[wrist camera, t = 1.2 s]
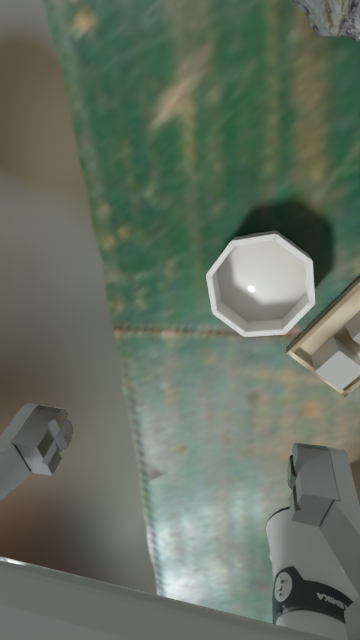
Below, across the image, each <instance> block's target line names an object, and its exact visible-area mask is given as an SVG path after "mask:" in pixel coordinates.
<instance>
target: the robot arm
mask: <svg viewBox="0 0 360 640" xmlns="http://www.w3.org/2000/svg"><path fill="white" fill-rule="evenodd" d="M67 416H68V413H67V411H66V409H60V408H54V407H48V406H41V405H36V404H28V403H27V404H25V405H24V406H23V407H22V408H21V409H20V411H19V412H18V413H17V415H16V416H15V417H14V419H13V420H12V421H11V423H10V424H9V425H8V427H7V428H6V430H5V431H4V432H3V434H2V435H1V437H0V501H1V500H2V499H3V498H4V497H5V496H6V495H7V494H9V493H10V492H11V491H12V490H13V489H14V488H16V487H17V486H18V485H19V484H20V483H21V482H23V481H24V480H25V479H26V478H27V477H28V476H29V475H30V474H31V472H33V473H39V474H45V475H51V476H53V474H54V472H55V470H56V468H57V466H58V464H59V463H60V460H61V458H62V457H61V452H62V451H63V450H64V449H66V448H67V447H68V445H69V443H70V441H71V439H72V435H73V425H72V423H71V422H70V421H69V420H68V419H67ZM292 452H293V455H291V456H290V457H289V461H288V470H287V471H288V485H289V487H290V488H291V489H292V492H291V495H290V498H289V502H290V509H287V510H283V511H281V512H278V513H277V514H275V515H274V516H273V517H272V518H271V519H270V520H269V521H268V523H267V527H266V533H267V537H268V542H269V547H270V559H271V561H272V570H273V579H274V588H273V596H272V611H273V612H272V618H273V624H272V623H268V622H264V621H260V620H256V619H251V618H247V617H243V616H239V615H235V614H231V613H227V612H223V611H219V610H215V609H211V608H207V607H203V606H199V605H195V604H191V603H187V602H183V601H179V600H175V599H171V598H167V597H163V596H158V595H154V594H150V593H146V592H142V591H138V590H134V589H130V588H126V587H122V586H118V585H113V584H110V583H106V582H102V581H98V580H94V579H89V578H86V577H81V576H78V575H73V574H70V573H65V572H61V571H57V570H53V569H49V568H45V567H41V566H37V565H33V564H29V563H25V562H21V561H17V560H13V559H9V558H5V557H0V640H360V503H359V499H358V495H357V491H356V488H355V483H354V480H353V476H352V472H351V468H350V463H349V459H348V456H347V453H346V451H345V450H343V449H337V448H330V447H325V446H317V445H310V444H302V443H294V444H293V447H292Z"/></svg>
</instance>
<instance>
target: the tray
mask: <svg viewBox="0 0 360 640" xmlns="http://www.w3.org/2000/svg"><path fill="white" fill-rule="evenodd" d="M359 311H360V277H358V278H357V279H356V280H355V281H354V282H353V283H352V284H351V285H350V286H349V287H348V288H347V289H346V290H345V291H344V292H343V293H342V294H341V295H340V296H339V297H338V298H336V299H335V300H334V301H333V302H332V303H331V304H330V305H329V306H328V307H327V308H326V309H325V310H324V311H323V312H322V313H321V314H320V315H319V316H318V317H317V318H316V319H315V320H314V321H313V322H312V323H311V324H310V325H309V326H308V327H307V328H306V329H305V330H304V331H303V332H302V333H301V334H300V335H299V336H298V337H297V338H296V339H295V340H294V341H293V342H292V343H291V344H290V345H289V346H288V347H287V348H286V352H287V354H288V355H290V356H291V357H292V358H294V359H295V360H296V361H298V362H299V363H300V364H302V365H303V366H304V367H306V368H307V369H308V370H310V371H311V372H312V373H314V374H315V375H317V376H318V377H319V378H321V379H322V380H323V381H325V382H326V383H327V384H329V385H330V386H331V387H333V388H334V389H335V390H337V391H338V392H339V393H341V394H342V395H343V396H347V395H348V394H349V393H351V392H352V391H353V390H354V389H356V388H357V387H358V386H359V385H360V376H358V377H357V378H356V379H355V380H353V381H352V382H351V383H350V384H348V385H347V386H346V387H345V388H343V389H342V390H341V391H340V390H339V389H337V388H336V387H335V386H333V385H332V384H330V383H329V382H328V381H326V380H325V379H324V378H322V377H321V376H320V375H318V374H317V373H316V372H315V370H314V366H313V361H312V357H311V355H313V354H314V353H315V352H316V351H317V350H318V349H319V348H320V347H321V346H322V345H323V344H324V343H326V342H327V341H328V340H329V339H330V338H331V337H332V336H334V337H336V338H337V339H338V340H340V341H341V342H342V343H344V344H345V345H346V346H348V347H349V348H351V349H352V350H353V351H355V352H356V353H357V354H358V356H359V358H360V344H358V343H357V342H356V341H354V340H353V339H352V338H351V336H350V334H349V332H348V330H347V328H346V326H345V324H346V323H347V322H348V321H349V320H350V319H352V318H353V317H354V316H355V315H356V314H357V313H358V312H359Z"/></svg>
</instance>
